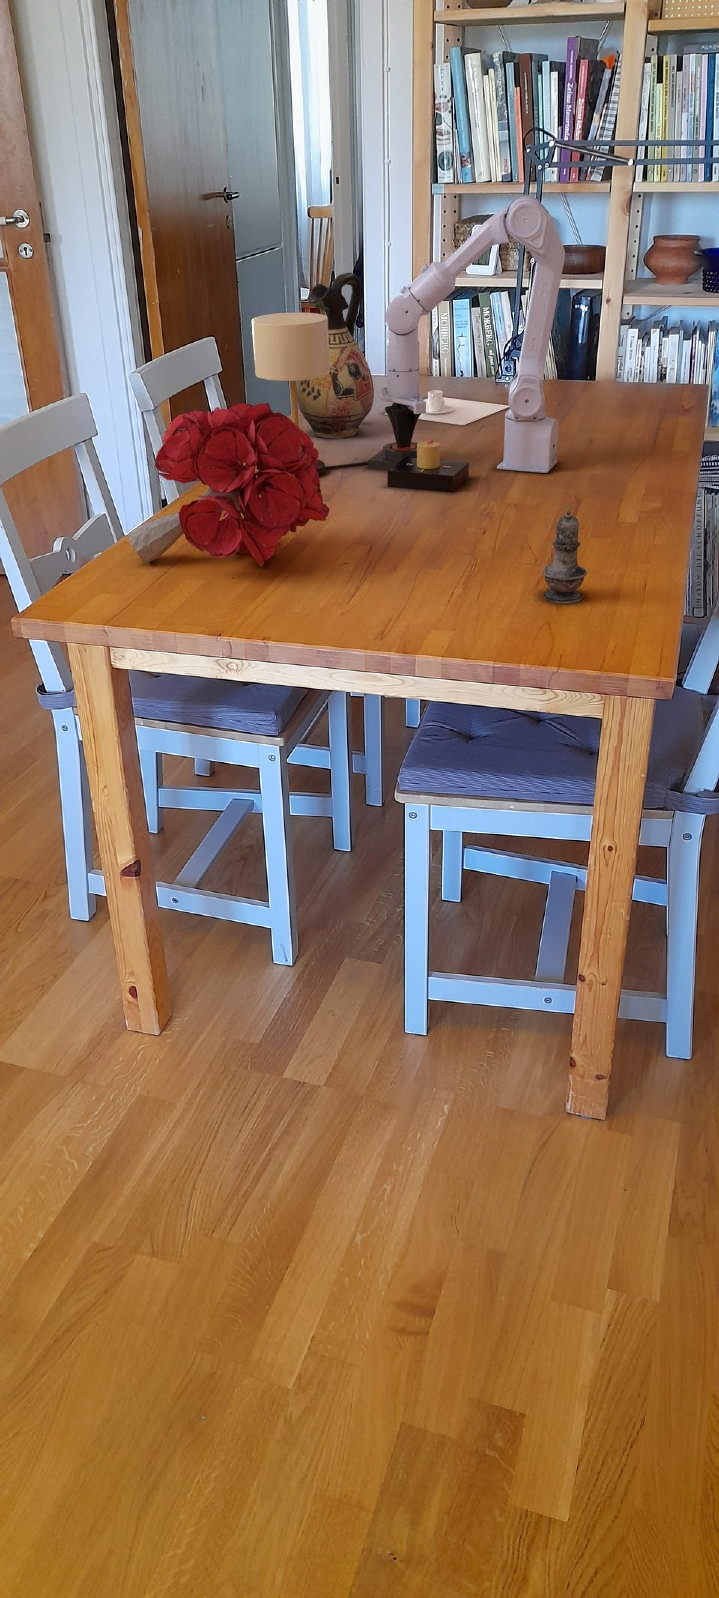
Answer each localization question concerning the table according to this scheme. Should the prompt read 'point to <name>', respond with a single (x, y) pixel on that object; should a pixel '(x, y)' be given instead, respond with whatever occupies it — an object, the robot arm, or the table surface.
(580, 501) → the table surface
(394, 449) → the lamp switch
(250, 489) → the bouquet
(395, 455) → the switch box
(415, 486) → the dimmer panel
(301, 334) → the table lamp
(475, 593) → the table surface
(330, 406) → the ceramic jug
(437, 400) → the teacup and saucer
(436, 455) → the dimmer knob
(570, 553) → the salt shaker
